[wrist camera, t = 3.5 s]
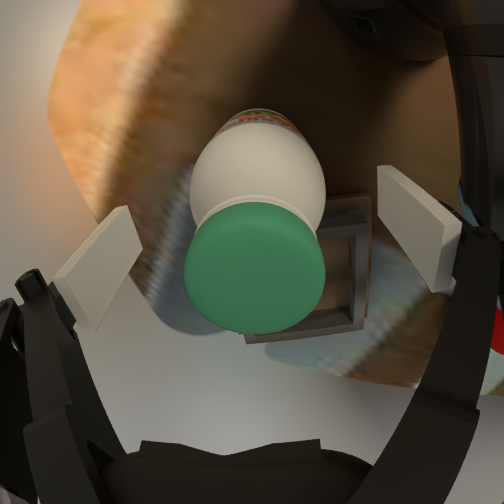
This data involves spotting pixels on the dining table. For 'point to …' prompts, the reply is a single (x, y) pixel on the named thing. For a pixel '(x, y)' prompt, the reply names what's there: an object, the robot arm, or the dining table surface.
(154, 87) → the dining table surface
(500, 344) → the tomato
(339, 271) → the bottle stand
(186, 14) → the dining table surface
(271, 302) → the milk bottle
